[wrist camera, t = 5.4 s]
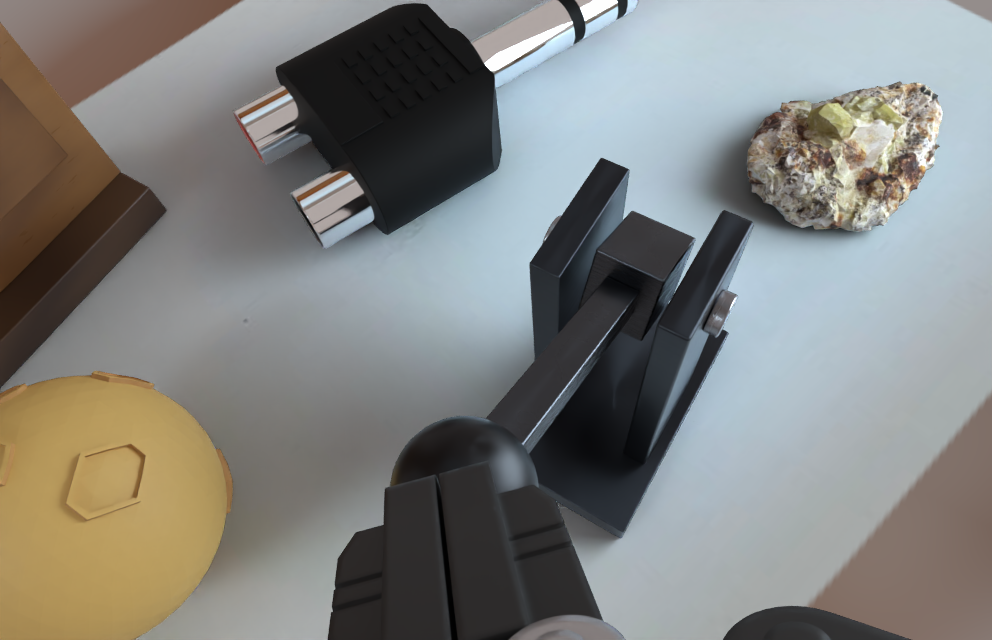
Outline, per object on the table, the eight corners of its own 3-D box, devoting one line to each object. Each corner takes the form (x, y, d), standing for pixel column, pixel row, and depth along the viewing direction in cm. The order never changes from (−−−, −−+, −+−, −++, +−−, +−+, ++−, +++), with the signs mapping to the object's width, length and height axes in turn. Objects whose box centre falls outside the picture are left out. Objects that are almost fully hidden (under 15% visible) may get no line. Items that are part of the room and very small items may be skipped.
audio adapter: (208, 72, 36) (615, -135, 42) (248, 145, 41) (609, -50, 47) (314, 221, 32) (755, -32, 37) (345, 284, 37) (732, 51, 42)
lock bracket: (621, 539, 30) (661, 437, 19) (494, 465, 32) (461, 331, 21) (723, 344, 34) (808, 160, 23) (604, 287, 36) (628, 90, 24)
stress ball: (280, 622, 30) (163, 585, 21) (30, 701, 29) (-199, 698, 20) (246, 397, 34) (139, 289, 25) (30, 461, 34) (-157, 373, 25)
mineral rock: (829, 251, 33) (734, 101, 34) (783, 280, 37) (700, 146, 39) (1013, 156, 35) (916, 18, 37) (950, 194, 39) (866, 69, 41)
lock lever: (478, 626, 16) (503, 541, 14) (356, 545, 17) (362, 454, 15) (682, 313, 25) (716, 233, 23) (596, 272, 26) (621, 192, 24)
